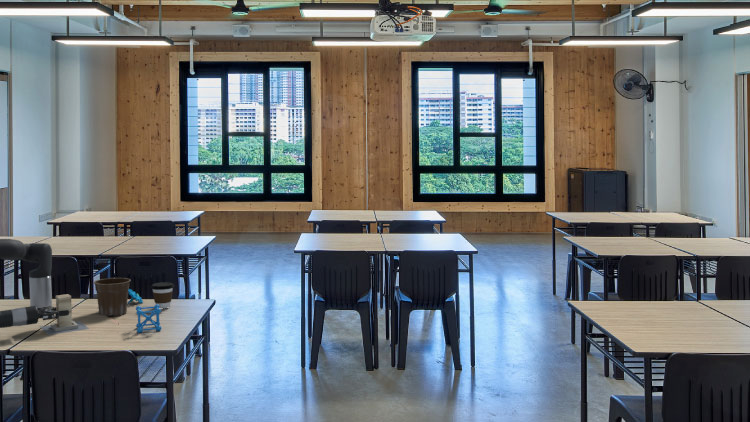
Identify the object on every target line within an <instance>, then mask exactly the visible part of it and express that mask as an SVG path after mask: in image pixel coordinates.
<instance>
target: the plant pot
mask: <svg viewBox="0 0 750 422" xmlns="http://www.w3.org/2000/svg"><path fill="white" fill-rule="evenodd" d="M130 282H131V279H130V278H126V277H109V278H101V279H97V280H95V281H93V285H94V288H95V289H94V290H95V291H96V297H97V305H98V308H97V309H98V314H99V315H102V316H105V317H111V316H113V317H119V316H123V315H126V314H127V312H128V303H127V302H128V297H129V293H128V289H130Z"/></svg>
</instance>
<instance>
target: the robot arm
mask: <svg viewBox="0 0 750 422" xmlns="http://www.w3.org/2000/svg"><path fill="white" fill-rule="evenodd" d="M52 250H53V249H52V245H50V244H49V243H41V242H40V243H38V242H37V243H34V242H33V243H23V242H22V241H20V240H18V239H12V238H0V260H1V259H2V260H7V261H18V260H22V261H25V262H27V263H28V262H29V263H39V266H38V267H37V268H35V269H32V270H29V273H28V276H29V279H28V280H29V301H30V302H29V304H30V305H29V306H24V307H16V308H11V309H4V310H0V329H5V328H11V327H23V326H29V325H30V326H31V325H36V324H38V322H39V319H42V321H47V320H55V319H56V320H57V319H58V318H59V316H67V315H69V310H63V311H56V306H53V296H52V295H53V294H52V290H53V289H52V269H53V268H52V267H53V265H52V264H53V251H52Z"/></svg>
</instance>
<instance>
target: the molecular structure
mask: <svg viewBox="0 0 750 422" xmlns="http://www.w3.org/2000/svg"><path fill="white" fill-rule="evenodd" d="M159 308H160V306H159V305H158V304H157V305H155V304H154V306H143V307H142V306H140V305H137V306H136V307H135V311H136V313H135V314H136V315H137V323H136V325H135V327H136V332H137V333H138V334H140V333H142V332H144V331H151V330H152V331H155V330H156V331H157V332H161V330H162V326H161V322H160V314H161V312H162V309H159ZM145 309H148V310H145ZM149 309H153V310H149ZM143 310H145V311H143ZM148 313H150V314H149V315H147V314H148ZM141 316H142V317H144V318H145V319H144V320H142V322H141ZM154 316H155V317H156V321H155V320H153V318H152V317H154ZM148 322H150V323H148ZM147 326H148V328H144V327H147ZM149 326H155V327H152V328H151V327H150V328H149Z"/></svg>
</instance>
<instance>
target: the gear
mask: <svg viewBox="0 0 750 422" xmlns="http://www.w3.org/2000/svg"><path fill="white" fill-rule="evenodd" d="M128 296H131V298H130V299H129V300H127V305H129V304H130V303H133V302H134V301H136V302H137V303H139V304H143V303H144V301H143V299H142V297H141V296H140V295H139V293H136V291H133V289H131V288H129V289H128Z"/></svg>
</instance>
